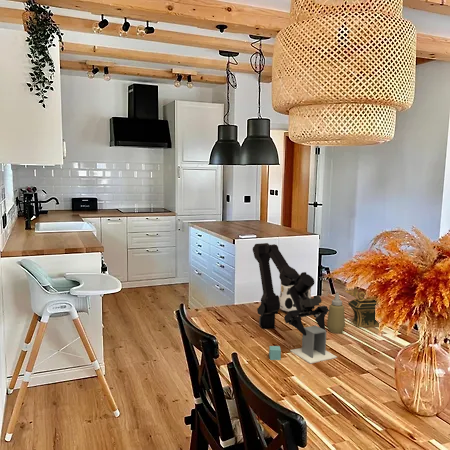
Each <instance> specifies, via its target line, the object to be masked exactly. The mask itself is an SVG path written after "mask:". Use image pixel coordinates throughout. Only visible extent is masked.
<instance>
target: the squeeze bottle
mask: <svg viewBox="0 0 450 450" xmlns="http://www.w3.org/2000/svg"><path fill="white" fill-rule="evenodd" d="M328 310H329V311H328V312H327V319H326V320H327V321H326V325H327V327H328V328H327V329H328V331H329V332H330V333H333V334H341V333H343V331H344V328H345V326H346V319H345V318H346V316H345V305H343V300H341V298H340V293H339V292H335V296H334V299H332V300H331V304H330V305H329V307H328Z"/></svg>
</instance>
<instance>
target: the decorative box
mask: <svg viewBox="0 0 450 450" xmlns="http://www.w3.org/2000/svg"><path fill="white" fill-rule="evenodd" d="M358 291H359V290H358V288H357V287H356V288H355V287H354V289H353V290H346V291H345V293H347V294H348V295H350V296H351V297H354V298H355V299H352V300H349V301H348V306H349V307H350V309H352V311H353V318H352V320H351V321H350V322H351V323H352V324H353V325H354V326H355V325H356V326H355V327H357V328H359V327H363V328H380V327H379V323H378V322H377V321H376V320H375V305H376V301H375V300H373V299H364V296H365V294H366V293H365V292H364V291H359V292H358Z"/></svg>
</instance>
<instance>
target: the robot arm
mask: <svg viewBox="0 0 450 450" xmlns="http://www.w3.org/2000/svg"><path fill="white" fill-rule="evenodd" d="M252 252H253V256H254V258H255V260H256V261H257V262H258V266H259V267H258V268H259V274H260V281H261V288H262V296H261V298H260V305H259V306H258V307H257V309H256V311H257V314H258V315H260V316H259V319H258V322H259V323H258V324H259V327H260V328H261V329H262V330H264V329H265V330H269V329H270V330H271V329H272V330H273V329H275V330H276V315H278V314H279V312H280V302H279V296H280V295H278V294H276V293H275V291H274V285H273V284H274V283H273V278H272V272H271V265H270V260H271V261H272V262H273V264H274V265H275V268H277V270H278V272H279V279H280V283H281V282H282V284H283V285H284V286H292V285H293V286H292V287H291V288H288V291H287V295H291V298H292V300H293V302H294V304H293V307H296V309H297V310H293V311H289V312H288V313H287V312H286V314H285V315H284V317H283V318H284V319H283V320H284V323H285V324H288V325H290V326H292V327H294V328H295V329H296V330H297V331H299V332H300V333H301V334H302V336H303V335H304V336H306V335H307V334H306V331H305V329H304V327H305V326H304V324H303V322H302V318H305V317H311V316H313V317H314V320H315V322H316V324H317V326H318V327H320V328H322V329H324V330H326V322H325V318H326V315H328V313H329V307H328V306H327V305H320V304H321V303H322V302H323V301H322V298H321V296H320V295H319V294H318V295H314V296H313V297H311V298H309V297H306V295H305V293H306V292H307V291H308V290H309V289H310V288H311V289H312V287H313V286H314V285H315V279H314V277H312V276H311V275H310V274H307V271H304V272H301V273H299V272H298V271H297V270H296V269H295V268H294V267H291V266H290V265H289V263H288V262H287V260H286V259H285V257H284V255H283V254H282V253H281V251H280V250H279V246H278V245H277V244H269V243H268V242H265V243H255V244H254V246H253V247H252ZM299 274H300V275H299ZM316 306H317V307H316ZM315 307H316V308H315Z"/></svg>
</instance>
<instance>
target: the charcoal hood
mask: <svg viewBox="0 0 450 450" xmlns="http://www.w3.org/2000/svg"><path fill="white" fill-rule="evenodd" d="M304 329H305V331H306V334H307V335H306V336H304V335H303V334H302V335H301V336H302V339H301V341H302V343H301V348H302V352H303V353H305V354H306V355H308V356H310V357H311V358H313V350H316V351H318V352H319V353H321V354H323V355H325V351H327V349H326V347H327V346H326V345H327V330H326V329H325V330H324V329H322V328H320V327H319V325H310V326H304Z"/></svg>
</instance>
